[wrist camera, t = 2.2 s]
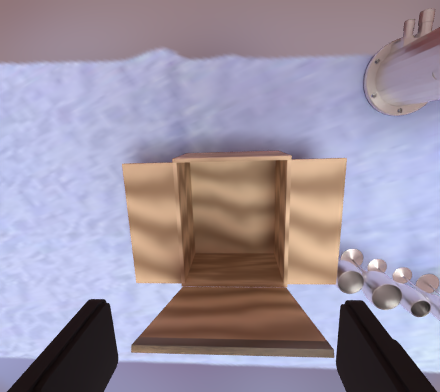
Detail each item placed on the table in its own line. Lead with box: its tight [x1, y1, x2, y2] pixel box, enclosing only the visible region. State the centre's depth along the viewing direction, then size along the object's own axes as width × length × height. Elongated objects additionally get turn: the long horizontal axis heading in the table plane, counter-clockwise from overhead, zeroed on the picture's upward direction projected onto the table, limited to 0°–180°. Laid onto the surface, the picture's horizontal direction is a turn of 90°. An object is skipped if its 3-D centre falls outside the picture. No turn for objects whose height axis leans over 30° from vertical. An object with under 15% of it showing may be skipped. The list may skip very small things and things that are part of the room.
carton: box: [122, 151, 347, 287], centre depth 47 cm, size 22×34×12 cm, turn 92°
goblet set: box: [335, 249, 440, 321], centre depth 48 cm, size 28×6×13 cm, turn 72°
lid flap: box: [131, 287, 334, 358], centre depth 33 cm, size 22×18×1 cm
